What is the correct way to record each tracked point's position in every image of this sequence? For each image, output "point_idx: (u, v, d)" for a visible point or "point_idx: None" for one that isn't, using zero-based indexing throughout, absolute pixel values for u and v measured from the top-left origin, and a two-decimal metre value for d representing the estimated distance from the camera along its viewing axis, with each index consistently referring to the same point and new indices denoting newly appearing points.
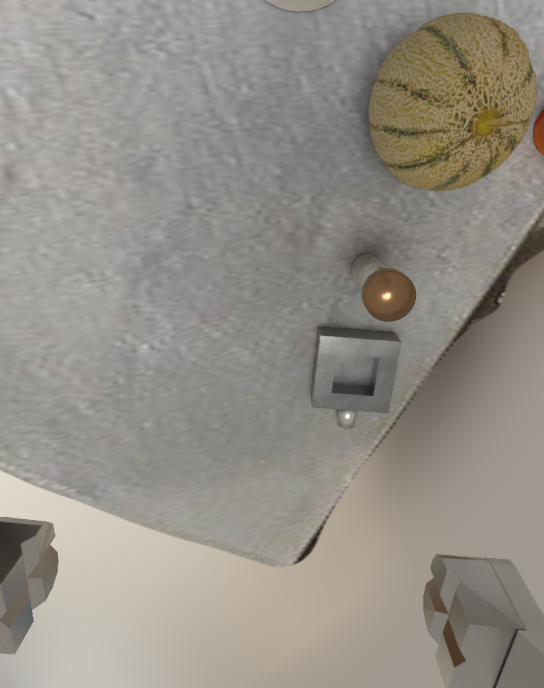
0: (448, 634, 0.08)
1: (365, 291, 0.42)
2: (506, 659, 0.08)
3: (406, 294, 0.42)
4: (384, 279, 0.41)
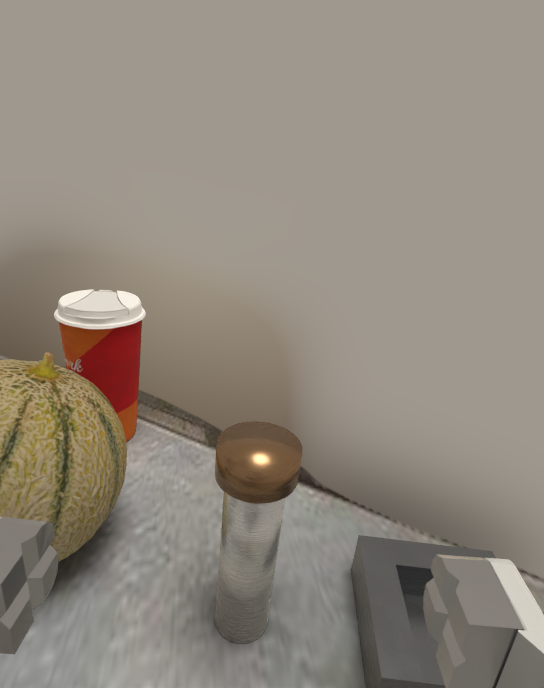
0: (448, 634, 0.08)
1: (249, 475, 0.23)
2: (507, 660, 0.08)
3: (254, 429, 0.26)
4: (228, 450, 0.24)
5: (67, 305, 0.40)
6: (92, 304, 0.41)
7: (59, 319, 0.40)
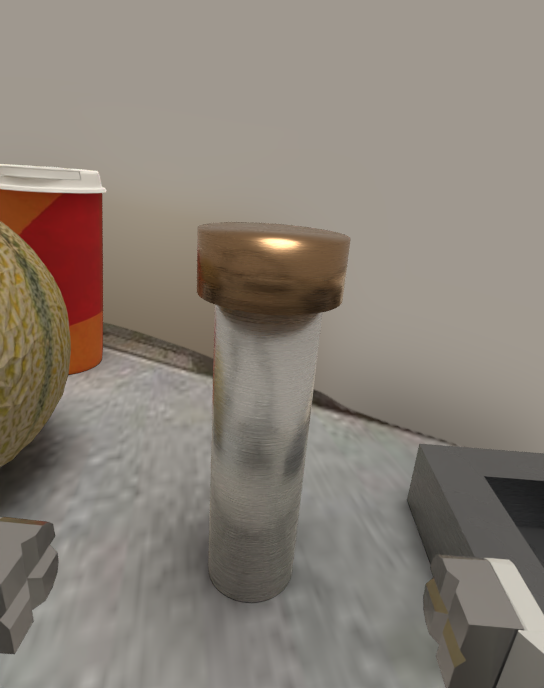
0: (448, 634, 0.08)
1: (259, 251, 0.12)
2: (507, 660, 0.08)
3: (262, 225, 0.15)
4: (218, 230, 0.13)
5: None
6: None
7: None
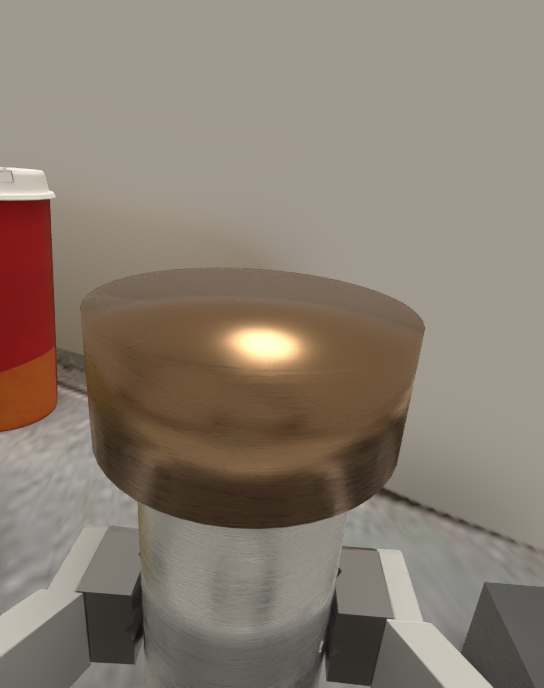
0: (331, 624, 0.08)
1: (206, 388, 0.04)
2: (380, 648, 0.08)
3: (237, 277, 0.08)
4: (125, 308, 0.06)
5: None
6: None
7: None
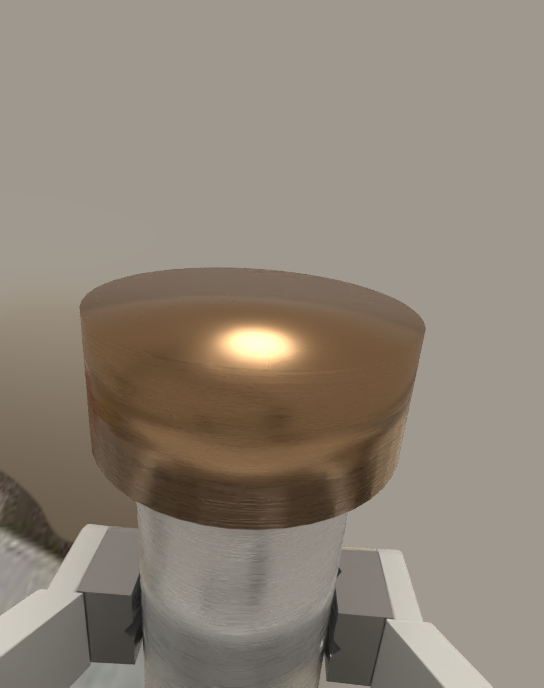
0: (331, 624, 0.08)
1: (205, 388, 0.04)
2: (380, 648, 0.08)
3: (237, 277, 0.08)
4: (124, 307, 0.06)
5: None
6: None
7: None
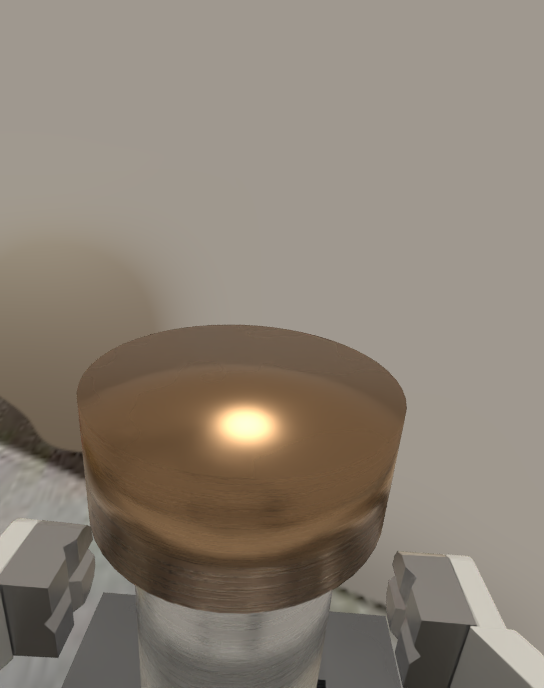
0: (406, 630, 0.08)
1: (194, 492, 0.05)
2: (461, 655, 0.08)
3: (230, 340, 0.08)
4: (119, 392, 0.06)
5: None
6: None
7: None
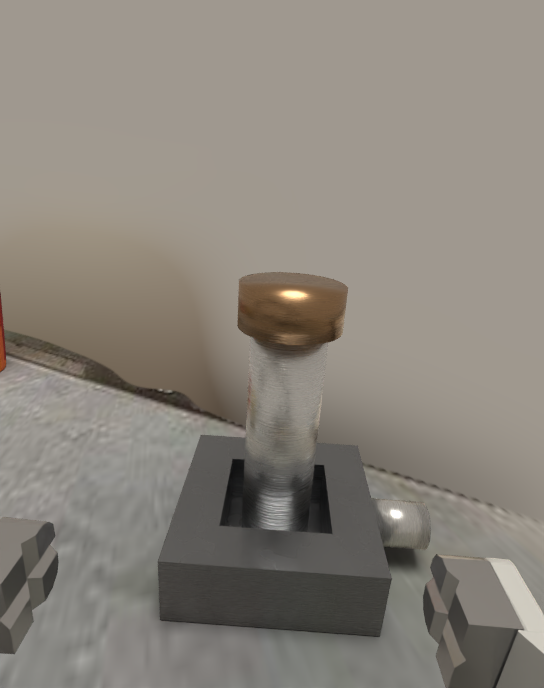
0: (448, 634, 0.08)
1: (284, 303, 0.18)
2: (507, 660, 0.08)
3: (284, 276, 0.21)
4: (254, 285, 0.19)
5: None
6: None
7: None
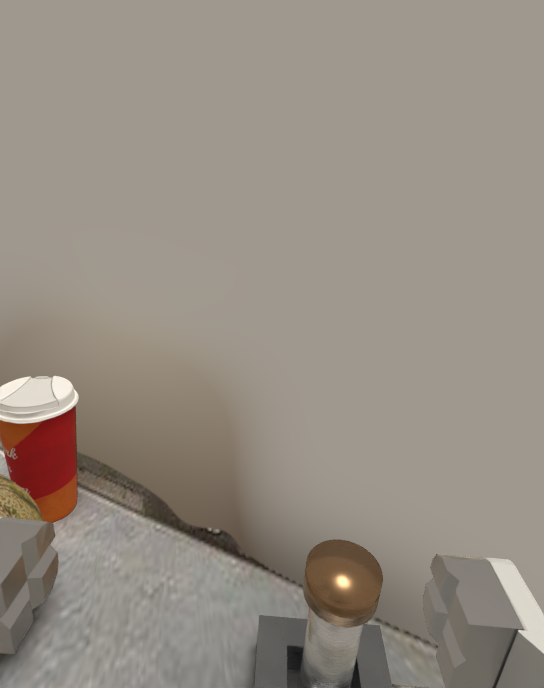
0: (448, 634, 0.08)
1: (342, 605, 0.26)
2: (506, 659, 0.08)
3: (335, 550, 0.29)
4: (318, 577, 0.27)
5: (0, 400, 0.44)
6: (24, 397, 0.44)
7: None
